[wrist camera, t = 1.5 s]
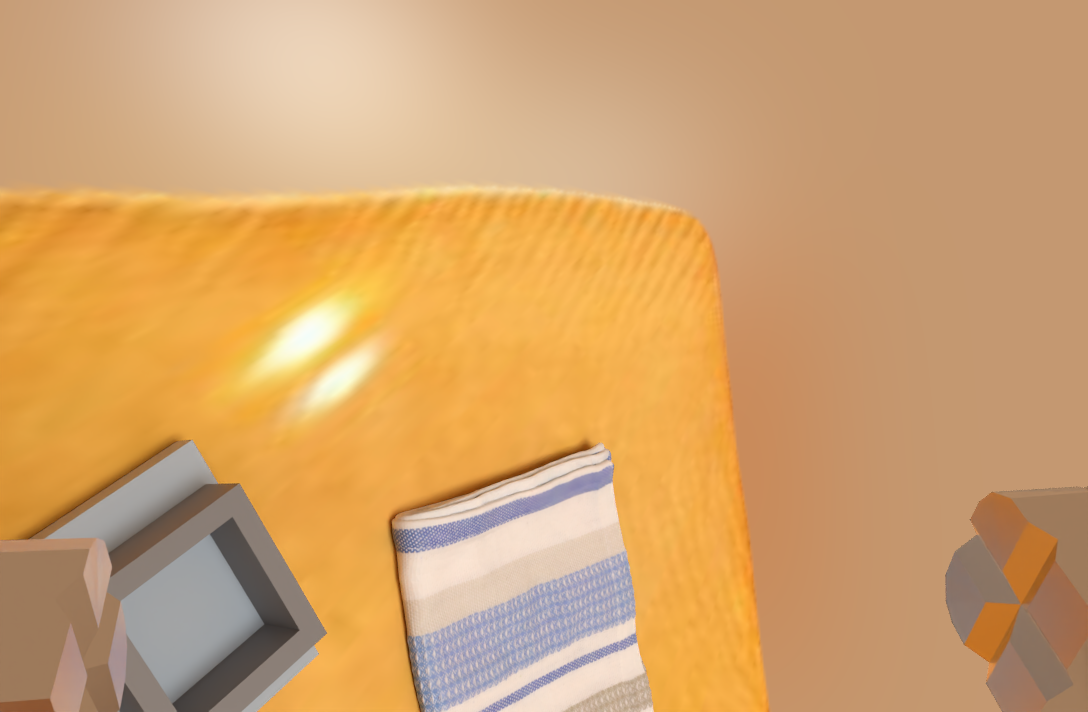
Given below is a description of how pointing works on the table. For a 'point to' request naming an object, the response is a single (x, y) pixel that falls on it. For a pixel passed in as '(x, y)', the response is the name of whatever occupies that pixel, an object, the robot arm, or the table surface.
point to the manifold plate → (196, 588)
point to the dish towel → (523, 595)
